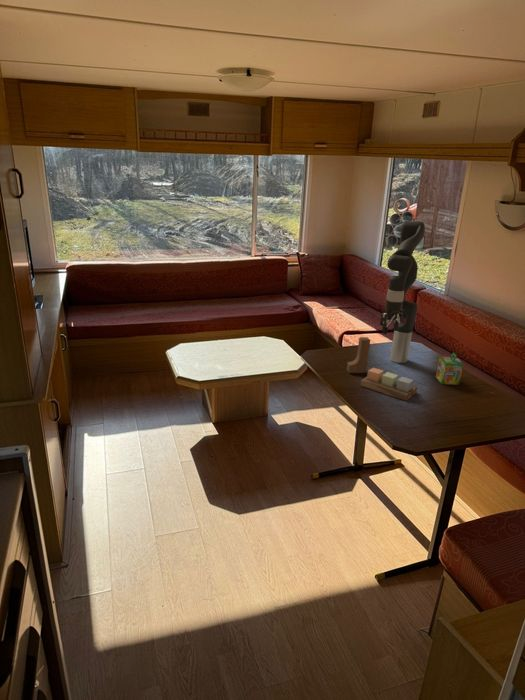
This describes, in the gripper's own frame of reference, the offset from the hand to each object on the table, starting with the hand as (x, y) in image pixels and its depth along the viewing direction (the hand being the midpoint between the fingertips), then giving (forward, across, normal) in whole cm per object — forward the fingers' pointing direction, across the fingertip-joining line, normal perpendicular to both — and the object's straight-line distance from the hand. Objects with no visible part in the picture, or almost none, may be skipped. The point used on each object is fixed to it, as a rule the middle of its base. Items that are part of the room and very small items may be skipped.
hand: (390, 332), depth 234 cm
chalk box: (+27, -29, +18) cm, 43 cm away
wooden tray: (+26, +5, +7) cm, 27 cm away
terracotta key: (+24, +6, -1) cm, 24 cm away
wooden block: (+26, +1, -16) cm, 31 cm away
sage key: (+24, +5, +7) cm, 25 cm away
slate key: (+24, +3, +14) cm, 28 cm away
